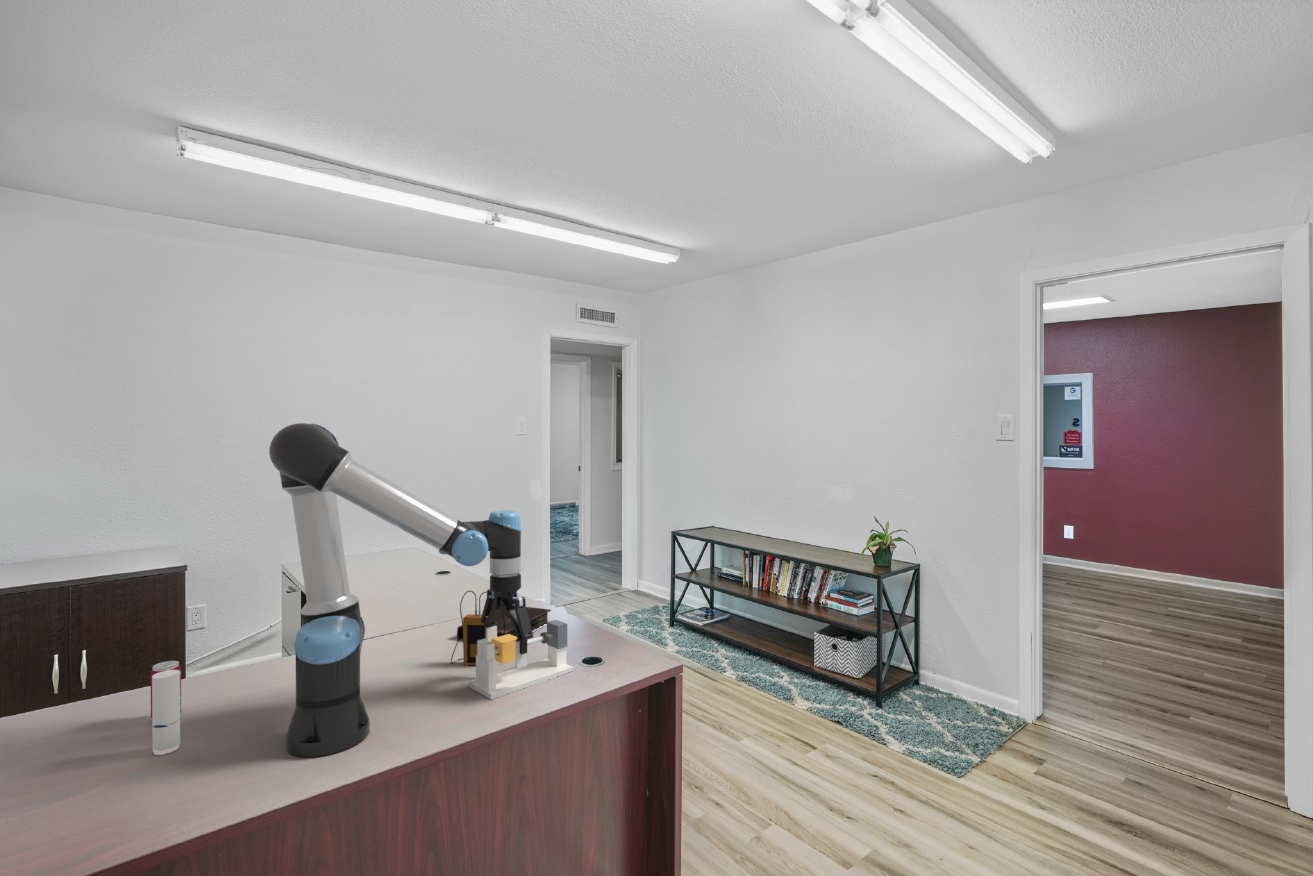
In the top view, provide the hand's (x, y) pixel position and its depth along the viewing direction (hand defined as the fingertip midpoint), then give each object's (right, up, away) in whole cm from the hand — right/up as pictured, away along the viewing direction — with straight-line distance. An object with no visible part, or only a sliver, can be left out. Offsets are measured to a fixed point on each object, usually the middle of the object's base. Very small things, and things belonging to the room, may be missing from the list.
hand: (506, 659), depth 153 cm
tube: (-59, -7, -31) cm, 67 cm away
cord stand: (+3, -6, +4) cm, 8 cm away
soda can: (-70, -7, -18) cm, 72 cm away
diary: (-10, -7, +42) cm, 44 cm away
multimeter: (-11, -7, +18) cm, 22 cm away
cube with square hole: (0, 0, 0) cm, 0 cm away
